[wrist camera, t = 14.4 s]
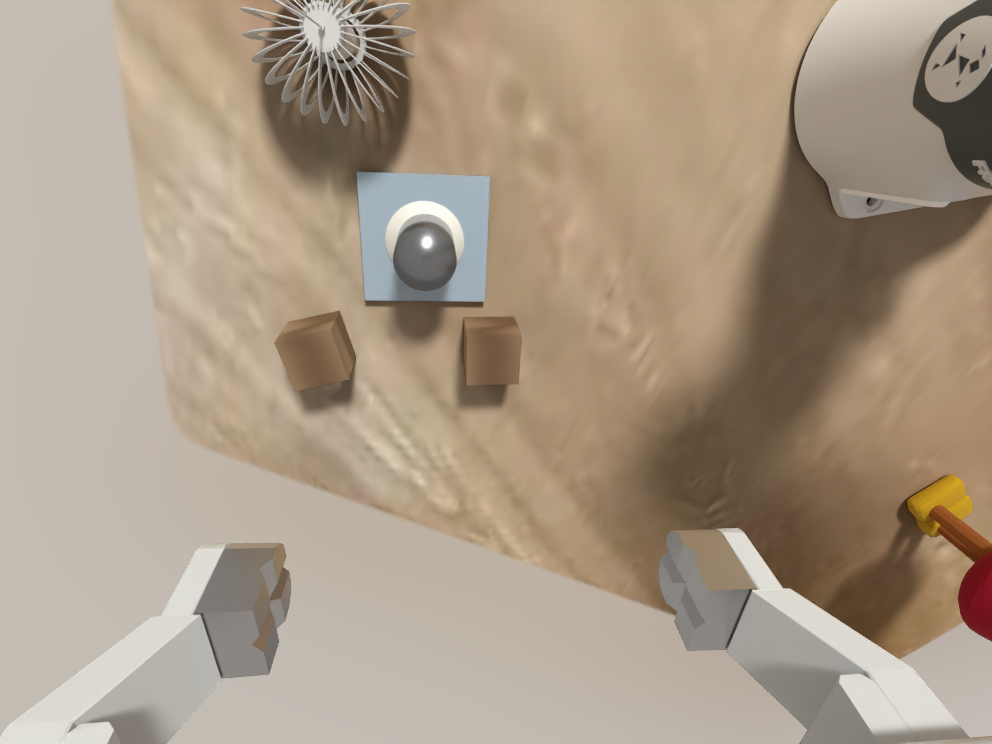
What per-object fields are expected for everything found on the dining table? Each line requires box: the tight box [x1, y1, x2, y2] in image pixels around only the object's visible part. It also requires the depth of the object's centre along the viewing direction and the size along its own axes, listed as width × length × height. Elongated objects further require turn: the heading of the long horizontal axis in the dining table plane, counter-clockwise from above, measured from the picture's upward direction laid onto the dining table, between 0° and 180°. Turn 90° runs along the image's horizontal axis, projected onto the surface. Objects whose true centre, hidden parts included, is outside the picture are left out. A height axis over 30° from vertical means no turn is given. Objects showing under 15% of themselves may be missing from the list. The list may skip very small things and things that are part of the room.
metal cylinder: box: [393, 214, 457, 291], centre depth 35 cm, size 4×4×5 cm
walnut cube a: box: [464, 317, 521, 385], centre depth 40 cm, size 4×4×4 cm
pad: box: [356, 171, 490, 302], centre depth 37 cm, size 9×9×1 cm
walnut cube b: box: [275, 311, 356, 391], centre depth 39 cm, size 4×4×4 cm
